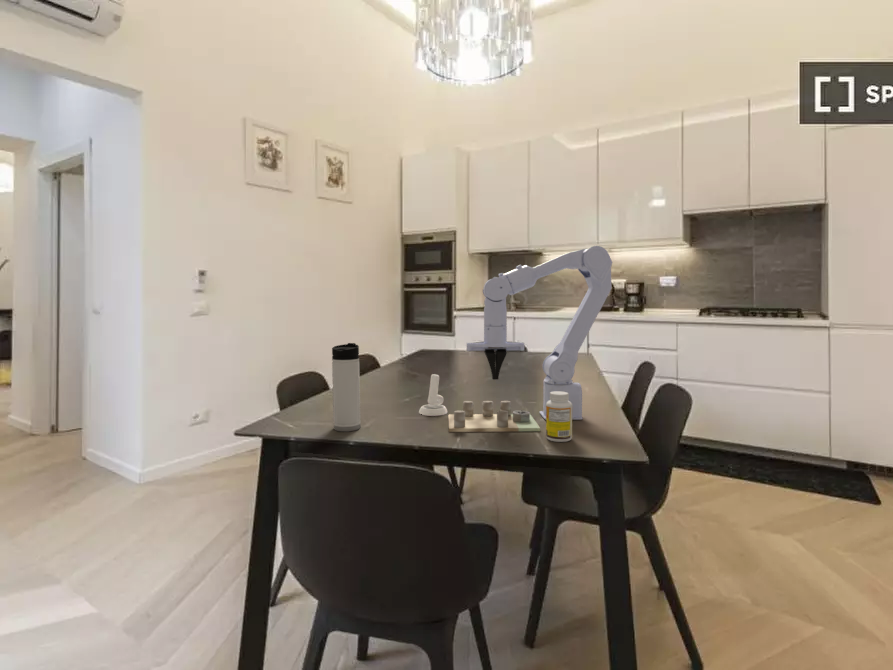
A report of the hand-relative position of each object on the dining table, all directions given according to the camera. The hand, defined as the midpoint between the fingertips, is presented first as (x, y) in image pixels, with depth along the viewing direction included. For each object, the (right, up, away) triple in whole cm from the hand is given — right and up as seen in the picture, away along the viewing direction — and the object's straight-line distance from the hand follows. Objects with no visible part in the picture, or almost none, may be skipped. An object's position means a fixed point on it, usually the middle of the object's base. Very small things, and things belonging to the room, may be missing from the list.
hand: (495, 378), depth 135 cm
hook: (-16, -10, +7) cm, 20 cm away
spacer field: (-4, -11, -6) cm, 13 cm away
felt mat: (+7, -10, -6) cm, 14 cm away
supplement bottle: (+12, -12, -20) cm, 26 cm away
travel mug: (-36, -11, -9) cm, 39 cm away
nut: (+6, -10, -6) cm, 13 cm away
